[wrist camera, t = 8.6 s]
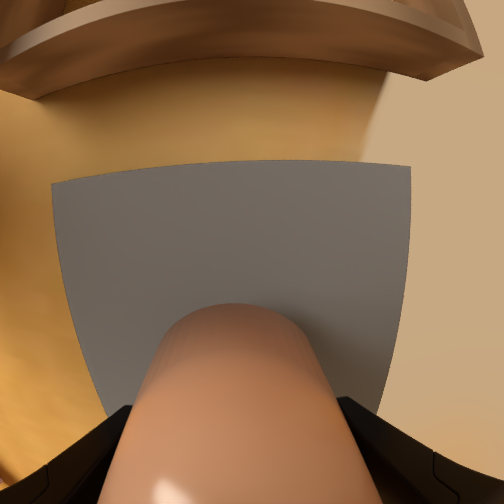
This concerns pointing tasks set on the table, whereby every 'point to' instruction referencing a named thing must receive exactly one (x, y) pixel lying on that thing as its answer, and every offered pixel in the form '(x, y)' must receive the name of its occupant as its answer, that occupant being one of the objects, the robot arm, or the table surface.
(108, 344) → the mat
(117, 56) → the frame
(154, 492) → the terracotta pot
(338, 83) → the table surface
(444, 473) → the robot arm
